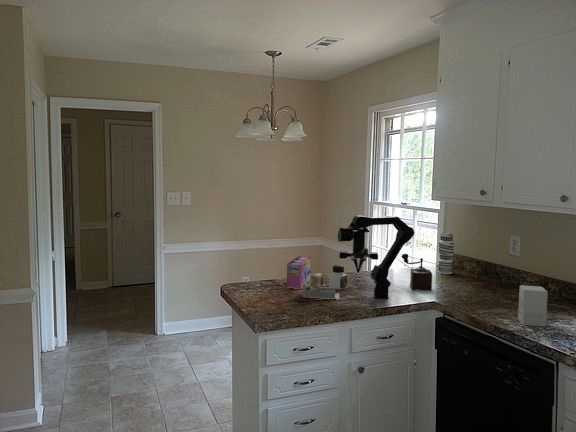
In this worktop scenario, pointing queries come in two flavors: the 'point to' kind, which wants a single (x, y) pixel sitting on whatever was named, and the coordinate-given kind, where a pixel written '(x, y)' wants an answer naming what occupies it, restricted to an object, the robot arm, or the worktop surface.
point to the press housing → (320, 292)
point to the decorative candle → (445, 253)
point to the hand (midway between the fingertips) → (358, 272)
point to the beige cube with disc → (316, 282)
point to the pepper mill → (419, 276)
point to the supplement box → (532, 305)
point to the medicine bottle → (338, 278)
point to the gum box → (298, 272)
